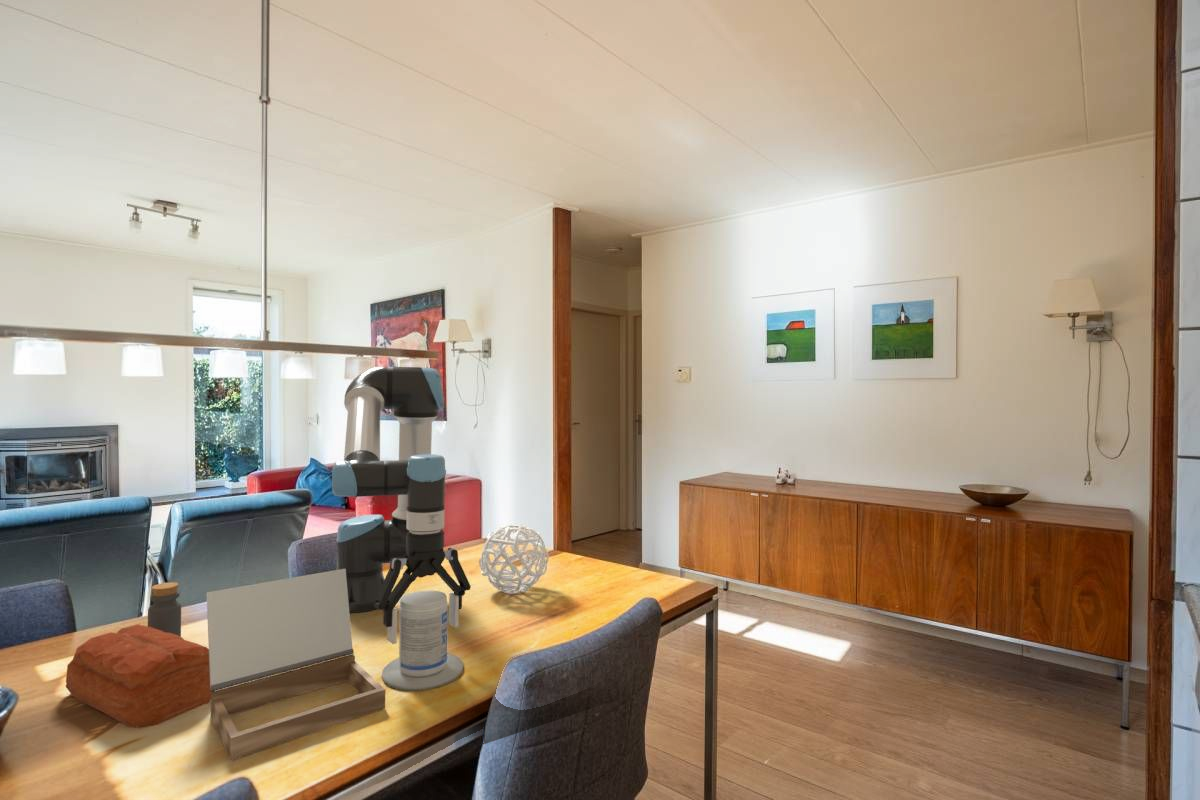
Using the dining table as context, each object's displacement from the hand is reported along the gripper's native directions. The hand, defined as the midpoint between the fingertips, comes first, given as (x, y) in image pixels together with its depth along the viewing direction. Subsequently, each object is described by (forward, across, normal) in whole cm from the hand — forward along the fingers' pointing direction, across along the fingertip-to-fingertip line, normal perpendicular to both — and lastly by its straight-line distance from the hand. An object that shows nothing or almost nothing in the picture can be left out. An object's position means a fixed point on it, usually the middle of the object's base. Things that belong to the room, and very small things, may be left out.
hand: (423, 633), depth 125 cm
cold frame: (+8, -24, -1) cm, 25 cm away
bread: (+8, -44, +24) cm, 51 cm away
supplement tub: (+7, 0, 0) cm, 7 cm away
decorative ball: (+8, +43, +31) cm, 54 cm away
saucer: (+8, 0, 0) cm, 8 cm away
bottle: (+8, -39, +43) cm, 59 cm away
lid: (-5, -24, +9) cm, 26 cm away
